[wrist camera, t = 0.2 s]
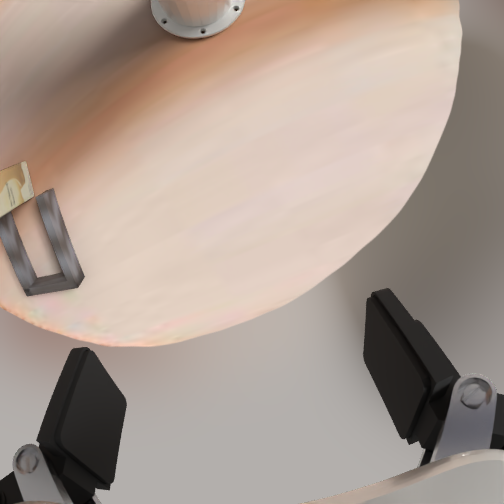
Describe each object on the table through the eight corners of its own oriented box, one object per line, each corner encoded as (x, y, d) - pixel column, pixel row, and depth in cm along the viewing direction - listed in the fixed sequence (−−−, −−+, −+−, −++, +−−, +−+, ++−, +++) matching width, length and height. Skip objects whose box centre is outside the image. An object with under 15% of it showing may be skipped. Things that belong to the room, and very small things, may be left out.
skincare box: (35, 196, 41) (-7, 225, 30) (17, 201, 41) (-25, 231, 30) (26, 158, 38) (-20, 179, 27) (7, 165, 38) (-38, 187, 27)
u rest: (3, 206, 40) (-8, 213, 37) (53, 188, 41) (42, 195, 38) (34, 285, 48) (27, 296, 45) (84, 276, 48) (77, 287, 45)
